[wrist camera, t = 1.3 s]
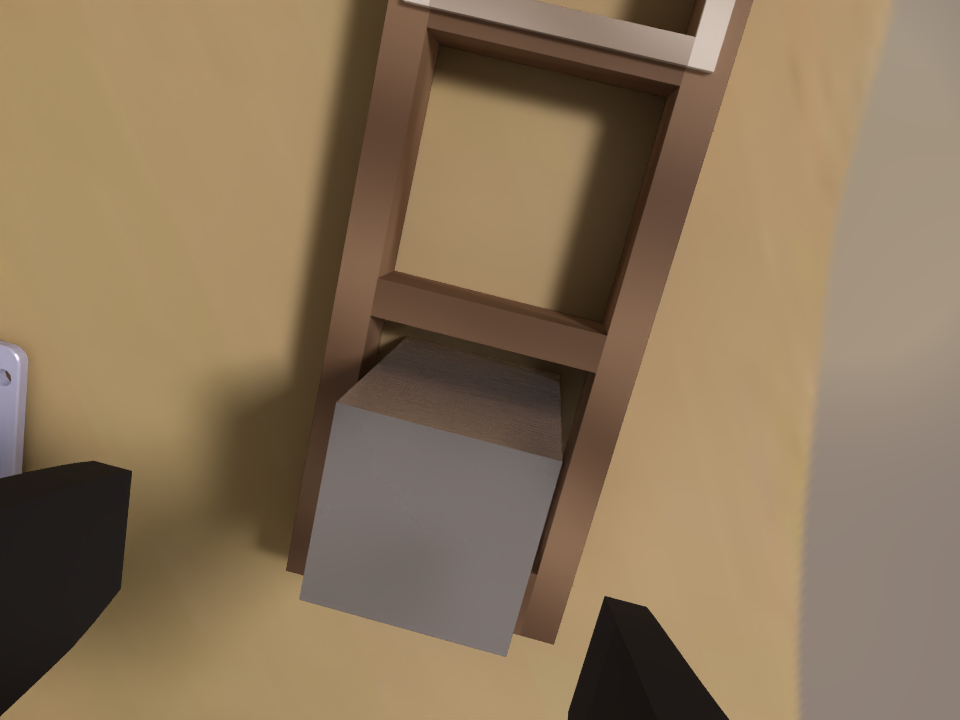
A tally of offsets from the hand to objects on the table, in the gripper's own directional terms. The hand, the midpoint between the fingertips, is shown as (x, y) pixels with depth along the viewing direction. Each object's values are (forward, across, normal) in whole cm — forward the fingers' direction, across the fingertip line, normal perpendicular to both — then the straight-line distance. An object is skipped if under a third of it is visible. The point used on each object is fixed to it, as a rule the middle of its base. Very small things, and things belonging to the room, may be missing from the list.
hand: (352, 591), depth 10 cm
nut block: (+10, 0, +1) cm, 10 cm away
